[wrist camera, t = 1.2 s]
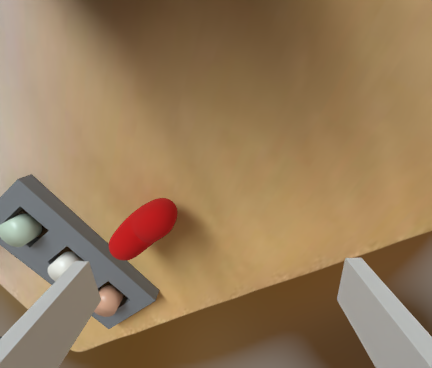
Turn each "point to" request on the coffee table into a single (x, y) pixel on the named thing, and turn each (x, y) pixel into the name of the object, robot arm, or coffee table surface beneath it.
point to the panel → (72, 246)
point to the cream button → (62, 264)
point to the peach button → (109, 301)
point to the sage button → (20, 230)
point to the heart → (143, 228)
